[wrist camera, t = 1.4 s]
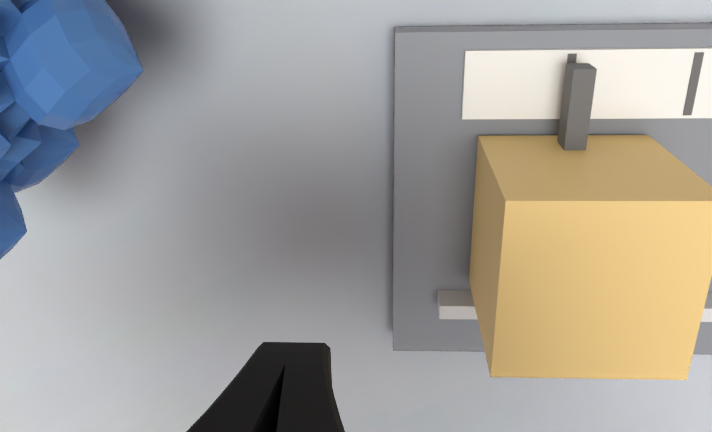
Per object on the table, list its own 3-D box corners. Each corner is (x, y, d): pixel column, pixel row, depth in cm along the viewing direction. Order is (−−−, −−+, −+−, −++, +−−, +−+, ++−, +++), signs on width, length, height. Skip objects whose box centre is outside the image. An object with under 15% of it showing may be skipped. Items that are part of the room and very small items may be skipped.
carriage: (622, 281, 21) (686, 379, 17) (468, 280, 21) (490, 377, 17) (661, 58, 18) (753, 102, 14) (482, 59, 18) (513, 104, 14)
